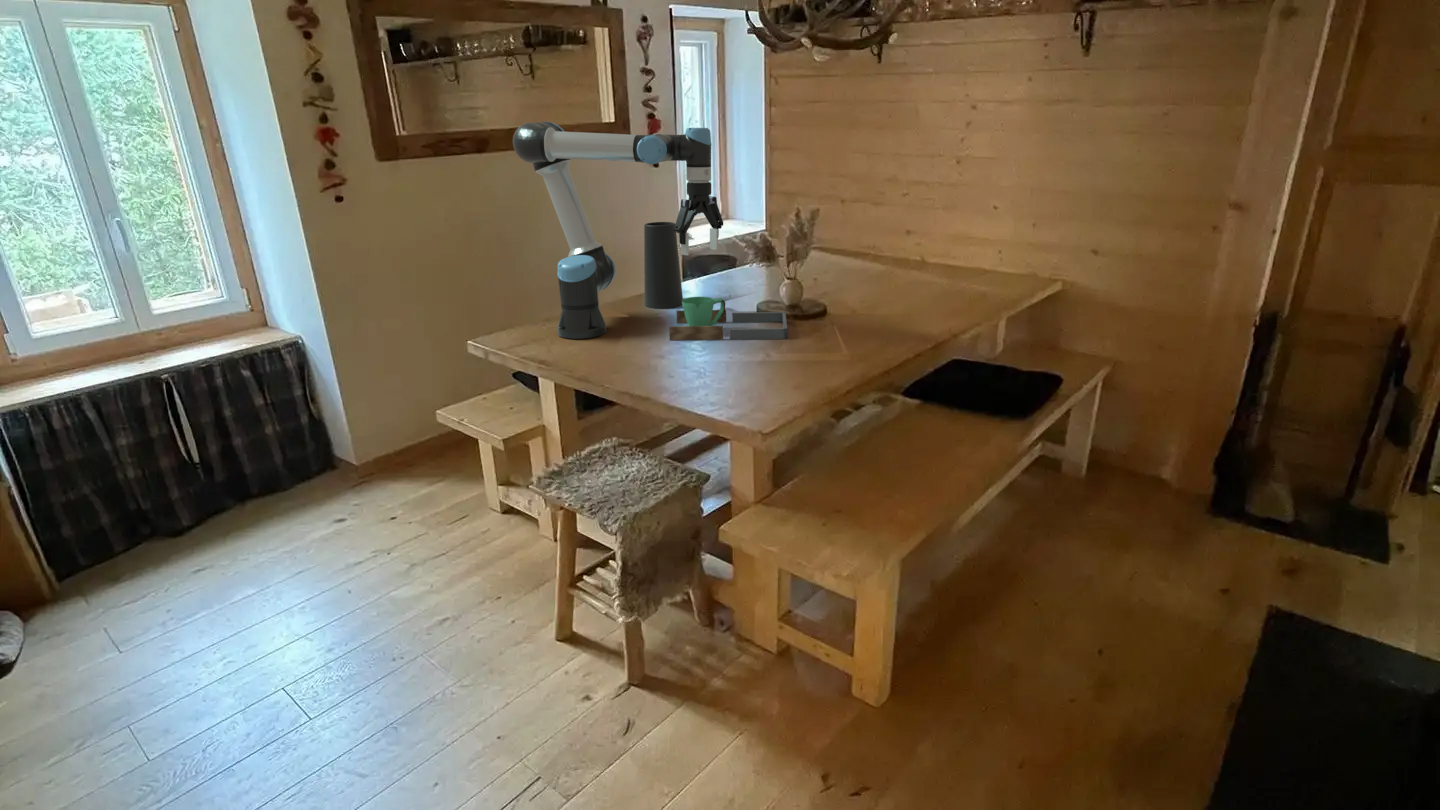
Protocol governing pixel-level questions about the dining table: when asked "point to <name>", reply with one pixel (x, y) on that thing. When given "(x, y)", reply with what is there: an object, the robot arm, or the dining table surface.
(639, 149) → the robot arm
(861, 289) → the dining table surface
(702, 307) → the mug
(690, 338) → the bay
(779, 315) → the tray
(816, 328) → the dining table surface
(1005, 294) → the dining table surface
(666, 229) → the vase
